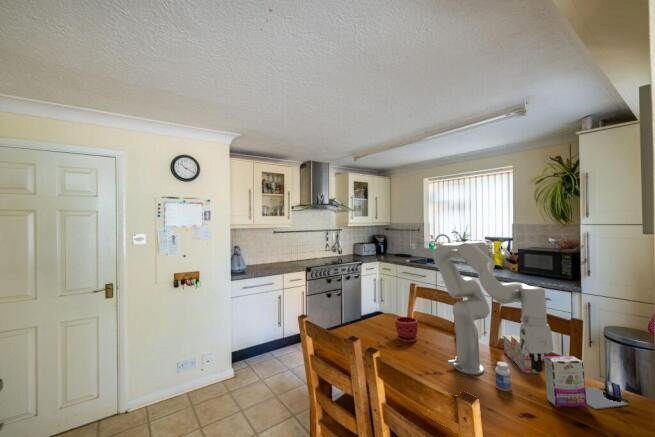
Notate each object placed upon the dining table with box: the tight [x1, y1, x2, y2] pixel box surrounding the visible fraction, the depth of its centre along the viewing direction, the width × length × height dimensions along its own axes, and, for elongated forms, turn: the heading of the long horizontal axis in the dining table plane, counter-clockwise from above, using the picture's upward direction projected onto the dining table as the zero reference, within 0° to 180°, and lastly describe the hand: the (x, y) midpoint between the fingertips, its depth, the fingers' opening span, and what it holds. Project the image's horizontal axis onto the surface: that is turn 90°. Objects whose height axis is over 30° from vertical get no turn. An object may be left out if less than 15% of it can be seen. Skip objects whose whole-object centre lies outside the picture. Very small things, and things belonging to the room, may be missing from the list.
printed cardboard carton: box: [502, 334, 540, 375], centre depth 136 cm, size 21×6×12 cm, turn 169°
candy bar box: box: [543, 355, 588, 408], centre depth 105 cm, size 11×5×16 cm, turn 87°
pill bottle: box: [494, 361, 512, 392], centre depth 115 cm, size 6×5×10 cm
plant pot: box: [394, 316, 419, 343], centre depth 167 cm, size 13×13×12 cm
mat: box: [585, 387, 629, 410], centre depth 107 cm, size 14×11×1 cm
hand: (536, 370), depth 103 cm, fingers closed
